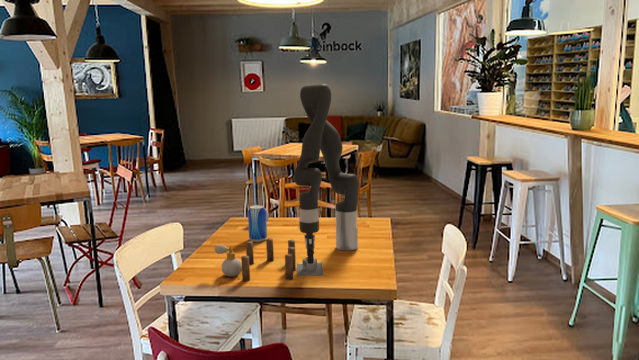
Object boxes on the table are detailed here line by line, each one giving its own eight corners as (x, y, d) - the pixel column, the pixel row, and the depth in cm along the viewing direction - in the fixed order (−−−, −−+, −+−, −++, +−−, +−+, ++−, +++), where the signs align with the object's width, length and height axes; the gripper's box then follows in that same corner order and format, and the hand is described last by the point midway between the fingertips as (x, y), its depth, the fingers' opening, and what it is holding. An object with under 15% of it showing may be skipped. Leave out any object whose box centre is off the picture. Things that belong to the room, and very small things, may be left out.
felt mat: (321, 263, 190) (321, 263, 190) (323, 274, 178) (323, 274, 178) (297, 264, 189) (297, 263, 189) (297, 275, 178) (297, 275, 178)
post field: (295, 257, 197) (294, 237, 195) (295, 279, 174) (295, 256, 173) (247, 259, 196) (246, 239, 194) (242, 281, 173) (240, 258, 172)
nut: (317, 266, 186) (316, 256, 186) (317, 271, 182) (317, 261, 181) (302, 266, 186) (302, 257, 185) (302, 271, 181) (302, 261, 180)
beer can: (264, 242, 217) (262, 209, 214) (246, 242, 219) (245, 208, 216) (269, 237, 225) (268, 204, 222) (252, 236, 227) (251, 204, 224)
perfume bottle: (242, 278, 177) (240, 247, 174) (215, 280, 175) (213, 249, 173) (241, 270, 184) (240, 241, 182) (216, 273, 182) (214, 243, 180)
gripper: (320, 224, 173) (321, 265, 176) (317, 213, 187) (318, 252, 190) (299, 224, 173) (301, 266, 176) (299, 214, 187) (300, 253, 190)
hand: (310, 259), depth 183 cm, fingers open, 8 cm apart
